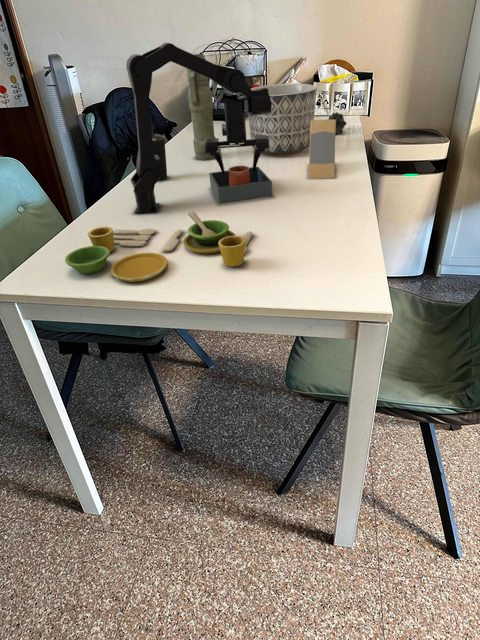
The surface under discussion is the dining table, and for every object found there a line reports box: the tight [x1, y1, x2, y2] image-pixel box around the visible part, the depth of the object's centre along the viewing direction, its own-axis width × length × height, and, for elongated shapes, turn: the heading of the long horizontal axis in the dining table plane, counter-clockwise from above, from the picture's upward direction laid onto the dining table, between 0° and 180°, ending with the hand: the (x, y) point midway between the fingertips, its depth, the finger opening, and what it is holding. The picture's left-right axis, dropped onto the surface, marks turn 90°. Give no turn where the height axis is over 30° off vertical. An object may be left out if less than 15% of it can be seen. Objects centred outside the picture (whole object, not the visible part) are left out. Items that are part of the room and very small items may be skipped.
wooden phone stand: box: [308, 119, 337, 179], centre depth 148 cm, size 9×15×15 cm, turn 172°
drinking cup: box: [151, 118, 168, 182], centre depth 152 cm, size 8×8×20 cm
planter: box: [247, 83, 318, 157], centre depth 171 cm, size 26×26×22 cm
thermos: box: [185, 53, 216, 161], centre depth 167 cm, size 9×12×35 cm
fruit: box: [327, 112, 348, 135], centre depth 194 cm, size 9×8×15 cm
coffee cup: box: [227, 165, 250, 186], centre depth 138 cm, size 6×6×7 cm
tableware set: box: [64, 209, 254, 283], centre depth 106 cm, size 41×28×6 cm
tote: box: [208, 166, 273, 205], centre depth 139 cm, size 16×16×5 cm
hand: (238, 173), depth 137 cm, fingers open, 9 cm apart
